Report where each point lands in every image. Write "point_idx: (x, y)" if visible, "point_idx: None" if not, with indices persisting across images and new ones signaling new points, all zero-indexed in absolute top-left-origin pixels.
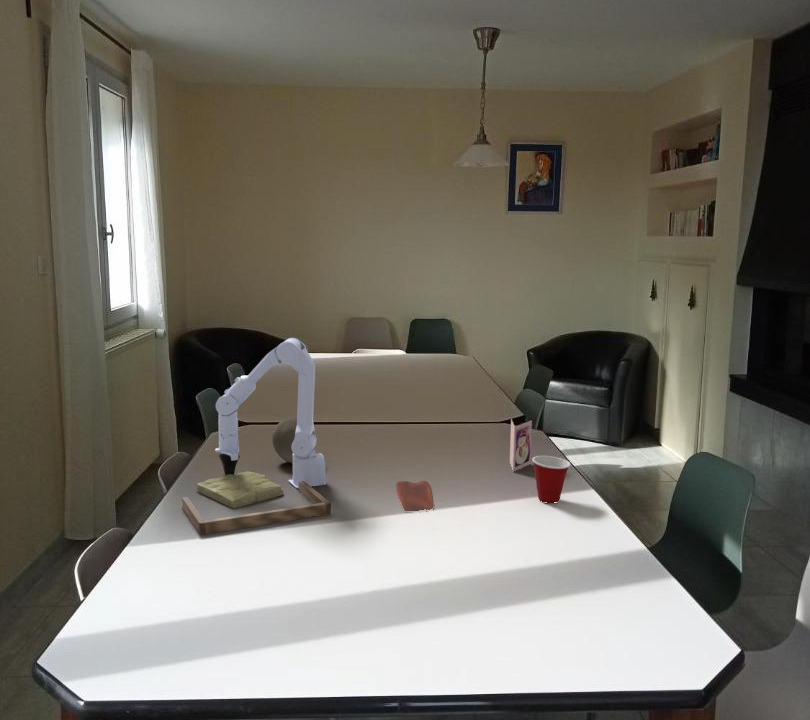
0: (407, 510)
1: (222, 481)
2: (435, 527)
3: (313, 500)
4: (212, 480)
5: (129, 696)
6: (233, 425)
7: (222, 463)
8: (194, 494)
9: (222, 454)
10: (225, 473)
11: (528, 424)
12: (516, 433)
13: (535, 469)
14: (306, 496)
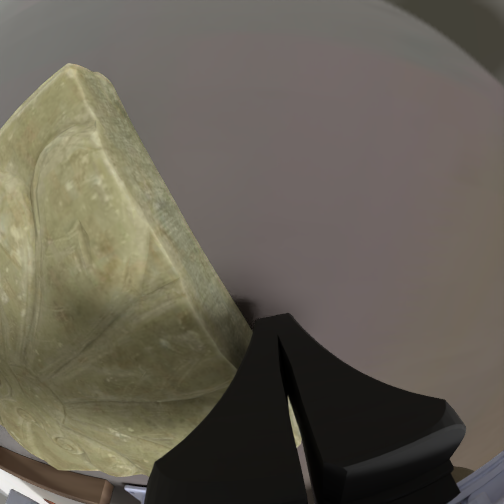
0: (48, 502)
1: (43, 291)
2: (13, 485)
3: (24, 463)
4: (59, 204)
5: None
6: None
7: (323, 385)
8: (47, 76)
9: (425, 466)
10: (253, 338)
11: None
12: None
13: None
14: (58, 471)
